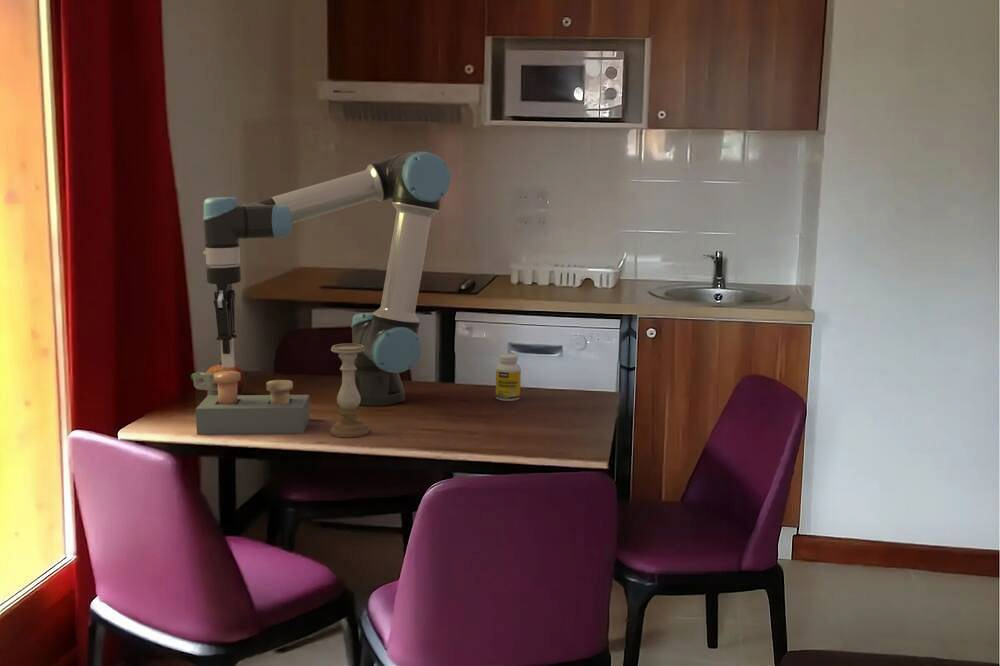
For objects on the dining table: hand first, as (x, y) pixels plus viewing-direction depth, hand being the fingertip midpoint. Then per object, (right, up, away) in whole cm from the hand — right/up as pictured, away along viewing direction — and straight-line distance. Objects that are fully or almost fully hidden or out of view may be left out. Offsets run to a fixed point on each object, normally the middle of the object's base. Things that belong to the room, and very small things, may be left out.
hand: (228, 366), depth 237 cm
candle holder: (+28, -15, -2) cm, 32 cm away
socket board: (+5, -14, +3) cm, 15 cm away
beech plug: (+12, -13, +3) cm, 18 cm away
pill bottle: (+65, -10, +33) cm, 74 cm away
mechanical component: (-8, -12, +14) cm, 20 cm away
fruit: (-9, -9, +30) cm, 33 cm away
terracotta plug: (0, -11, +2) cm, 11 cm away
